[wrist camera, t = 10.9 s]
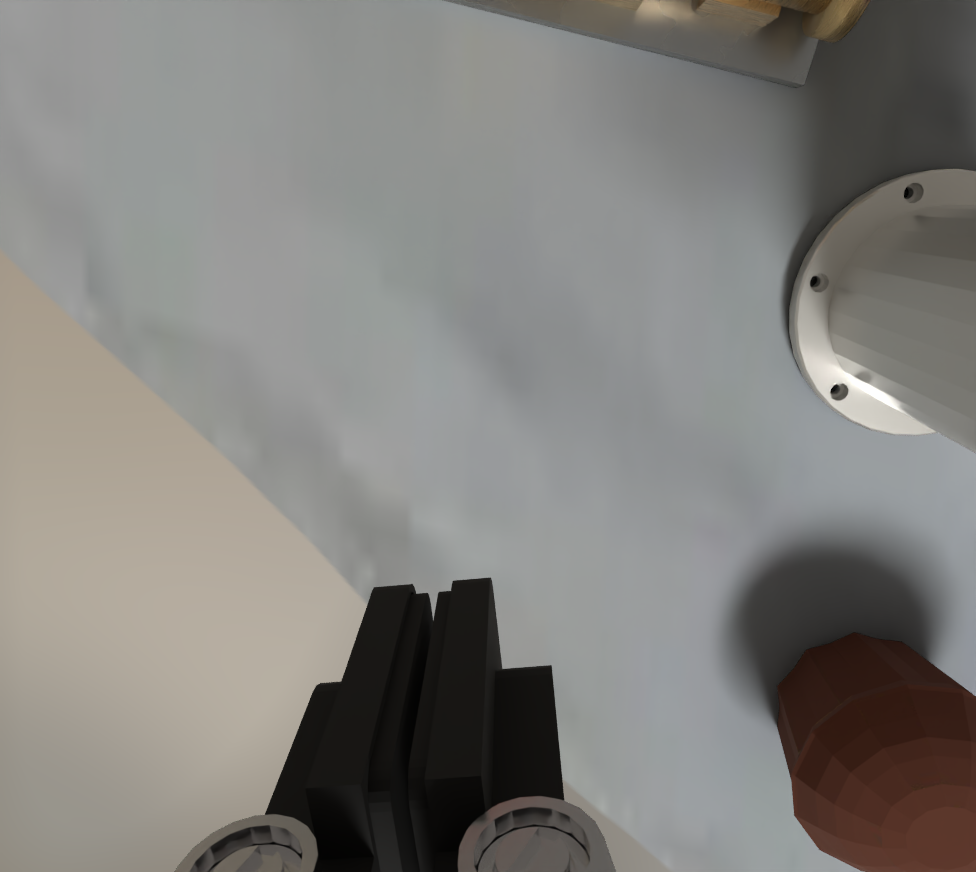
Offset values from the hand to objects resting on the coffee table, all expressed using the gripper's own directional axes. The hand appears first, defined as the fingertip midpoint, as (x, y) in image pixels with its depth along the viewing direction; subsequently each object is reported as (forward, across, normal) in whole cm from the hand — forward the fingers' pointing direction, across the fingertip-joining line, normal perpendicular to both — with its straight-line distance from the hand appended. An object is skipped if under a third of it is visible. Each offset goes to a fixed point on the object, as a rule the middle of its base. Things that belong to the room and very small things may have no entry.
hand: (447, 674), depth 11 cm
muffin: (+29, -18, +23) cm, 42 cm away
